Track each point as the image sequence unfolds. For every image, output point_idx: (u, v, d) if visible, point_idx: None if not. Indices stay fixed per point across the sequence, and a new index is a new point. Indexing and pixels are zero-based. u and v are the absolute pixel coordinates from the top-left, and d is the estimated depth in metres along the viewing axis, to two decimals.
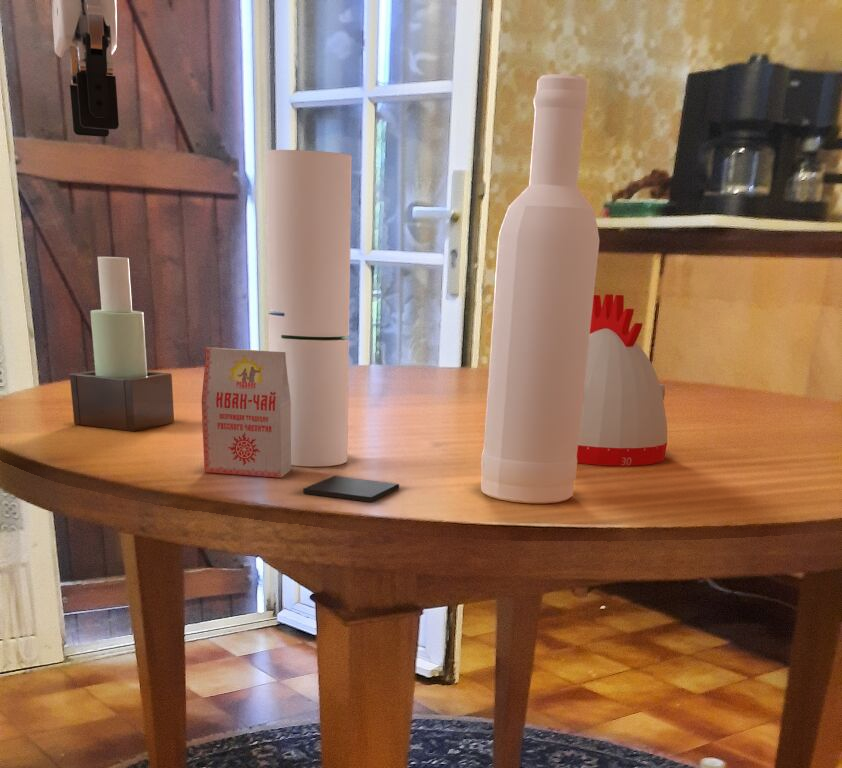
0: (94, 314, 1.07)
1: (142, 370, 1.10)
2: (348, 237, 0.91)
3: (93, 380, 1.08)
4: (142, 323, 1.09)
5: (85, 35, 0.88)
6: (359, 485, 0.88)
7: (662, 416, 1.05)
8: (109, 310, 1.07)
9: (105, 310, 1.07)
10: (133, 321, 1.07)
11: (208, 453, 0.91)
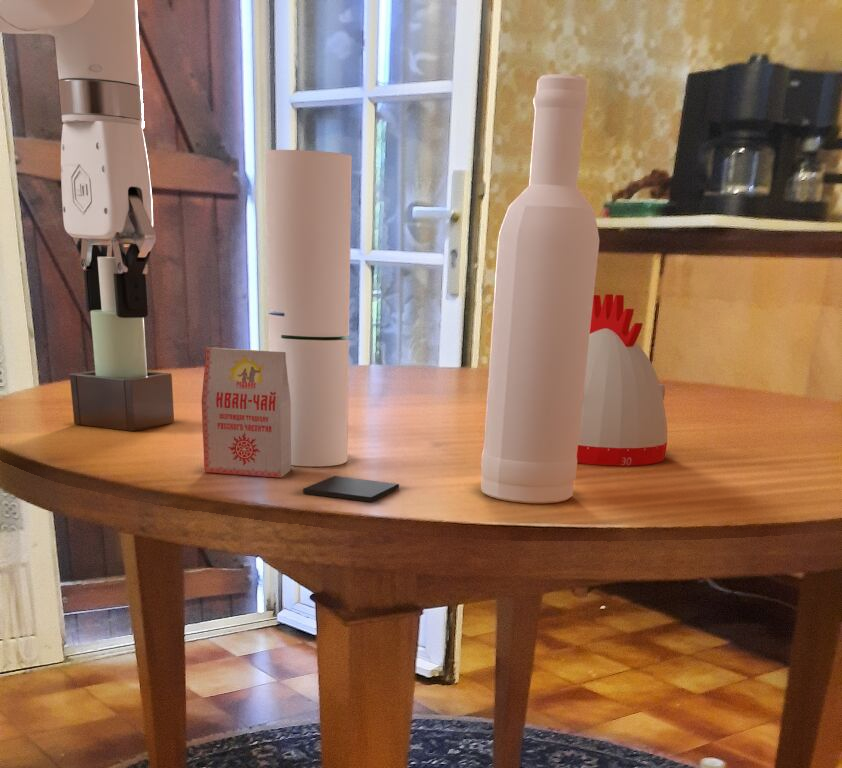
0: (94, 314, 1.07)
1: (142, 370, 1.10)
2: (348, 237, 0.91)
3: (93, 380, 1.08)
4: (142, 323, 1.09)
5: (133, 246, 1.02)
6: (359, 485, 0.88)
7: (662, 416, 1.05)
8: (109, 310, 1.07)
9: (105, 310, 1.07)
10: (133, 321, 1.07)
11: (208, 453, 0.91)
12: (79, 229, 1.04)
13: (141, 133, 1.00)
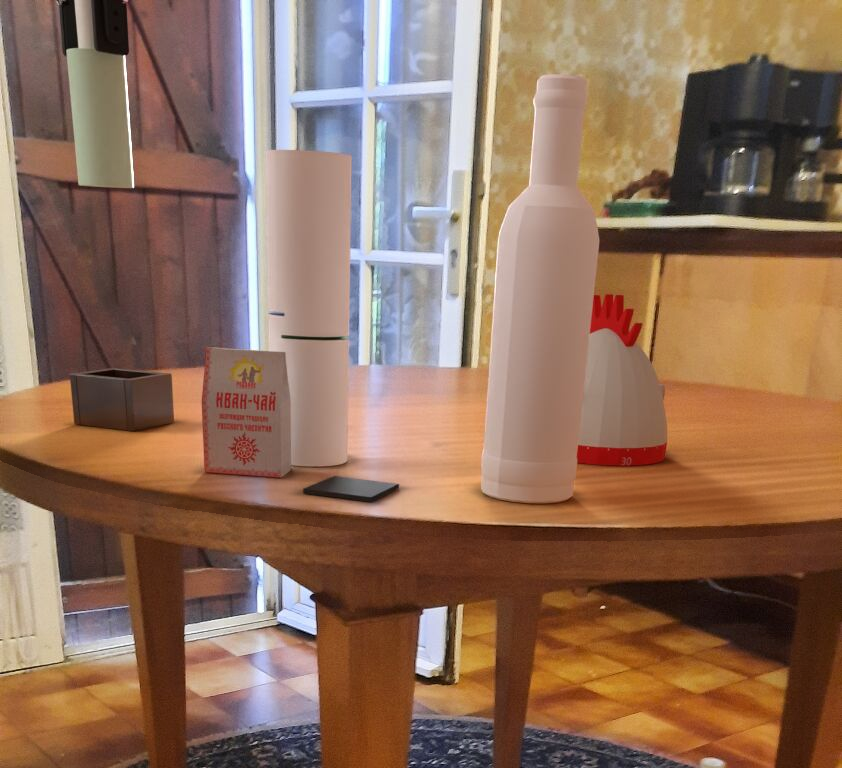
0: (70, 51, 0.97)
1: (124, 121, 1.00)
2: (348, 237, 0.91)
3: (93, 380, 1.08)
4: (123, 66, 0.99)
5: None
6: (359, 485, 0.88)
7: (662, 416, 1.05)
8: (87, 47, 0.97)
9: (82, 48, 0.97)
10: (113, 60, 0.98)
11: (208, 453, 0.91)
12: None
13: None
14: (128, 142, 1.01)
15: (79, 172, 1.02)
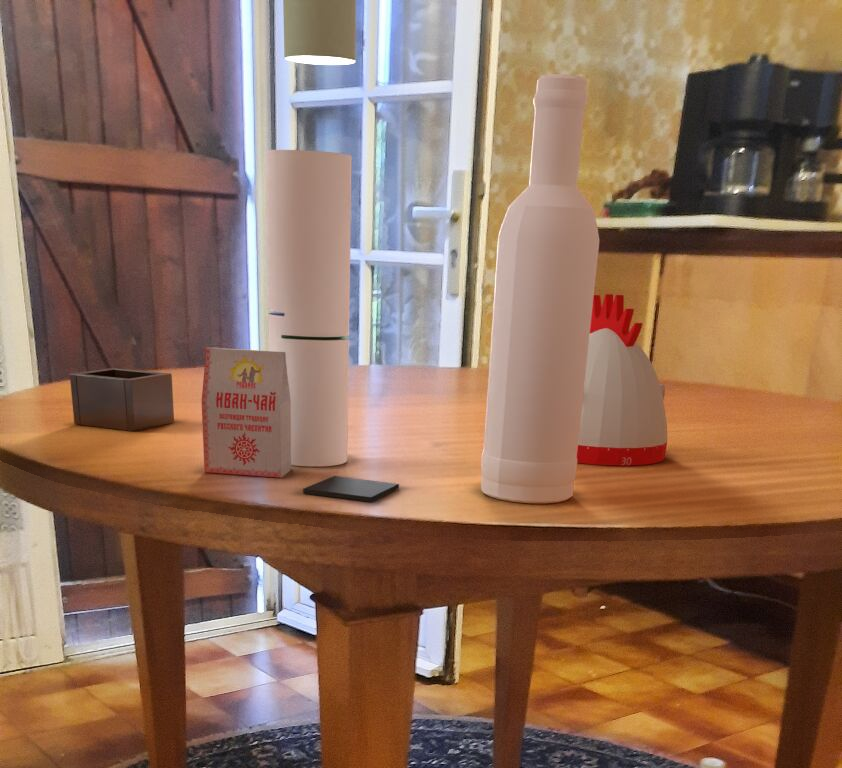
0: None
1: None
2: (348, 237, 0.91)
3: (93, 380, 1.08)
4: None
5: None
6: (359, 485, 0.88)
7: (662, 416, 1.05)
8: None
9: None
10: None
11: (208, 453, 0.91)
12: None
13: None
14: None
15: (289, 38, 0.76)
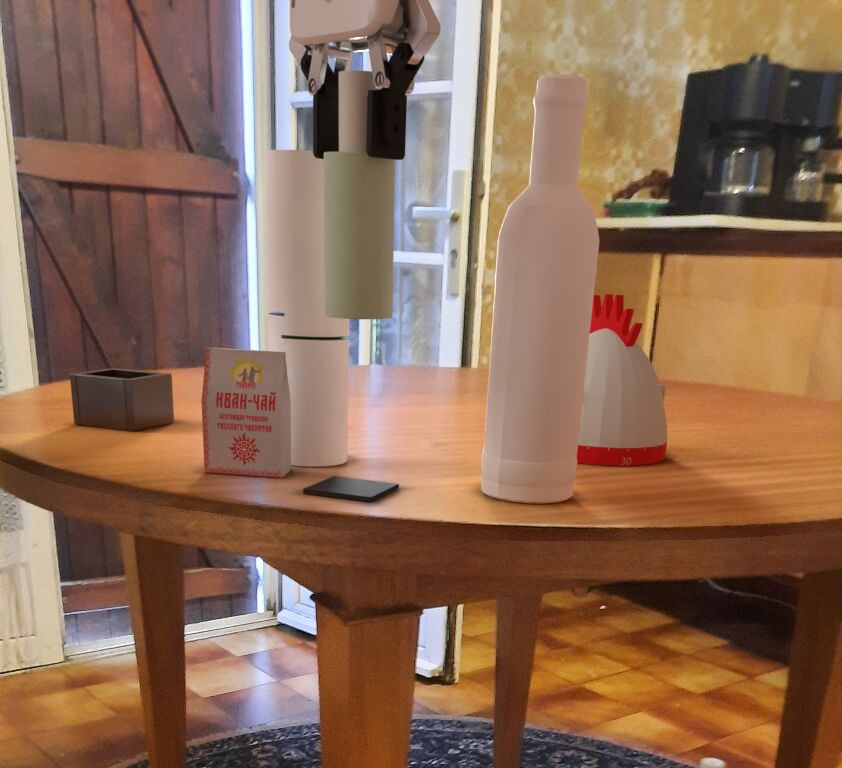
0: (333, 155, 0.76)
1: (391, 238, 0.79)
2: None
3: (93, 380, 1.08)
4: (394, 170, 0.78)
5: (404, 46, 0.71)
6: (359, 485, 0.88)
7: (662, 416, 1.05)
8: (353, 150, 0.76)
9: (347, 150, 0.76)
10: (385, 165, 0.77)
11: (208, 453, 0.91)
12: (319, 28, 0.73)
13: None
14: (392, 263, 0.81)
15: (330, 301, 0.81)
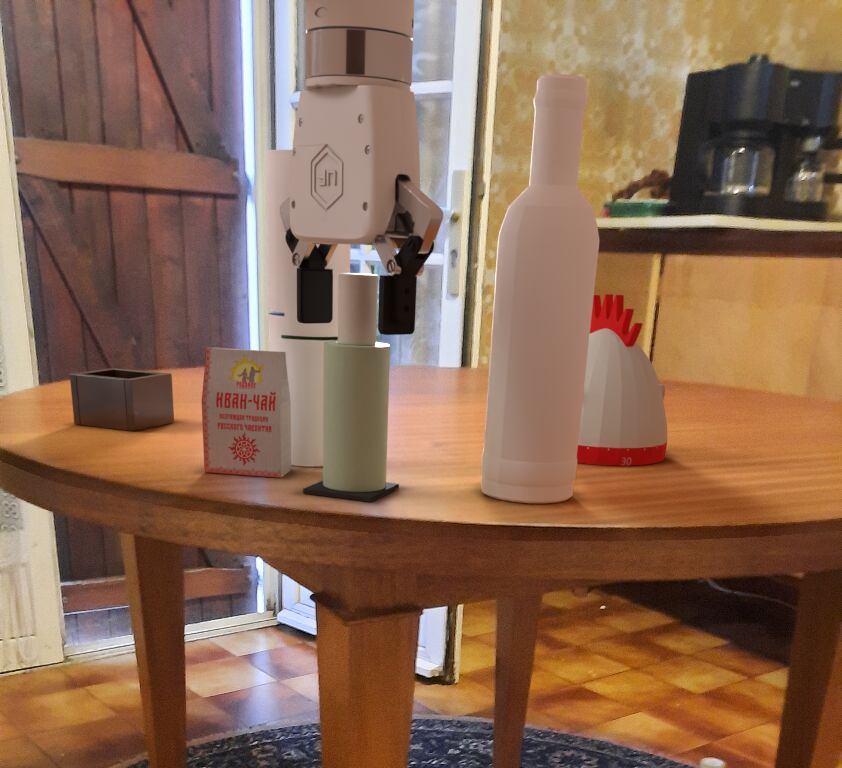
0: (332, 348, 0.82)
1: (385, 419, 0.85)
2: None
3: (93, 380, 1.08)
4: (389, 359, 0.84)
5: (414, 239, 0.75)
6: None
7: (662, 416, 1.05)
8: (351, 342, 0.82)
9: (345, 342, 0.82)
10: (381, 357, 0.82)
11: (208, 453, 0.91)
12: (317, 231, 0.79)
13: (414, 102, 0.75)
14: (386, 440, 0.86)
15: (328, 474, 0.86)
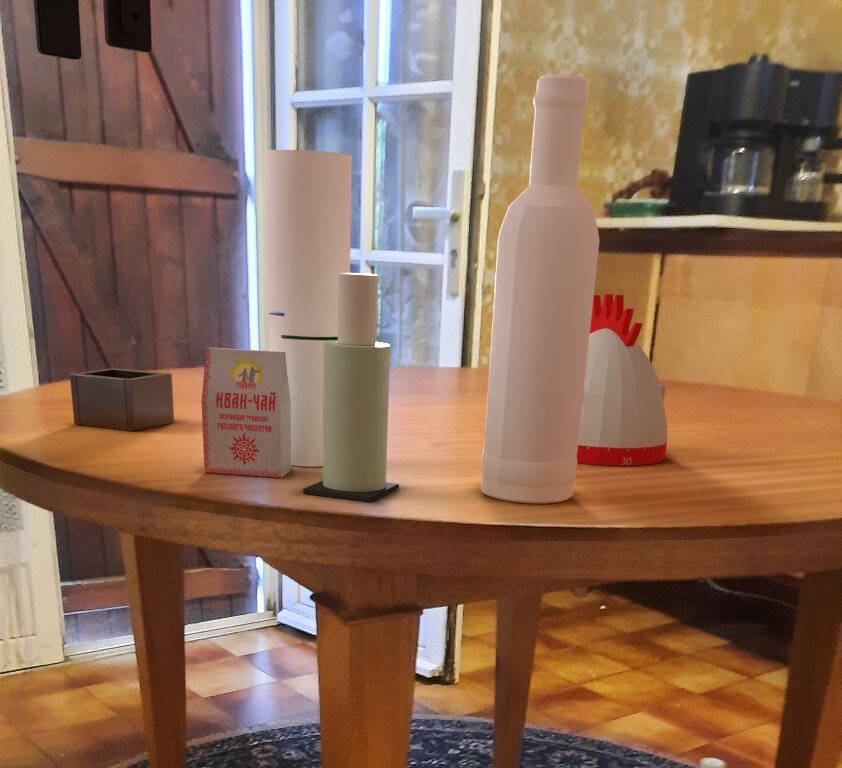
0: (332, 348, 0.82)
1: (385, 419, 0.85)
2: (348, 237, 0.91)
3: (93, 380, 1.08)
4: (389, 359, 0.84)
5: None
6: None
7: (662, 416, 1.05)
8: (351, 342, 0.82)
9: (345, 342, 0.82)
10: (381, 357, 0.82)
11: (208, 453, 0.91)
12: None
13: None
14: (386, 440, 0.86)
15: (328, 474, 0.86)
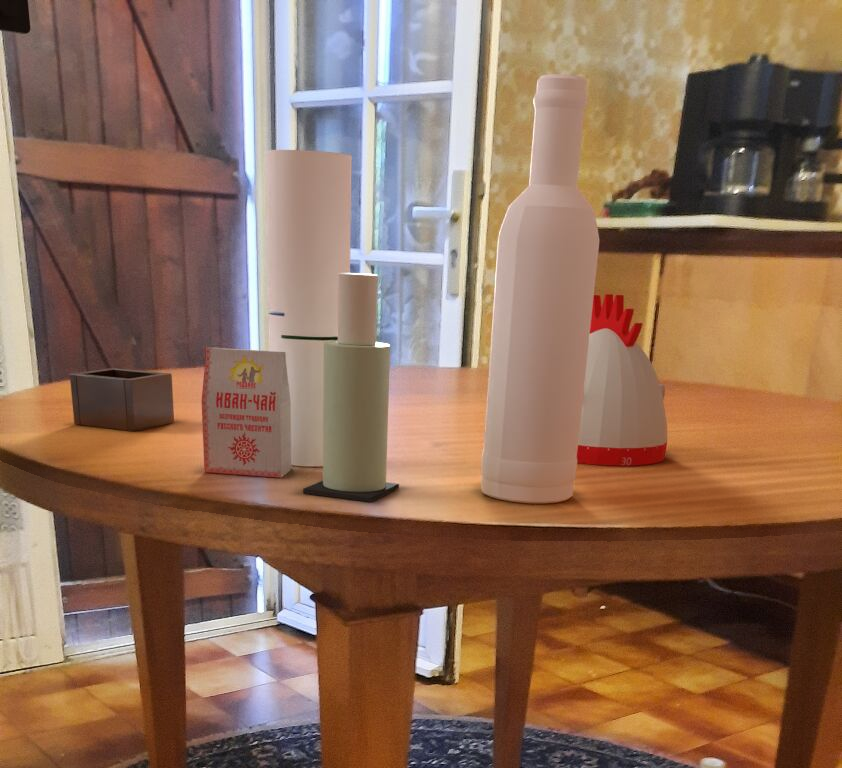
0: (332, 348, 0.82)
1: (385, 419, 0.85)
2: (348, 237, 0.91)
3: (93, 380, 1.08)
4: (389, 359, 0.84)
5: None
6: None
7: (662, 416, 1.05)
8: (351, 342, 0.82)
9: (345, 342, 0.82)
10: (381, 357, 0.82)
11: (208, 453, 0.91)
12: None
13: None
14: (386, 440, 0.86)
15: (328, 474, 0.86)
